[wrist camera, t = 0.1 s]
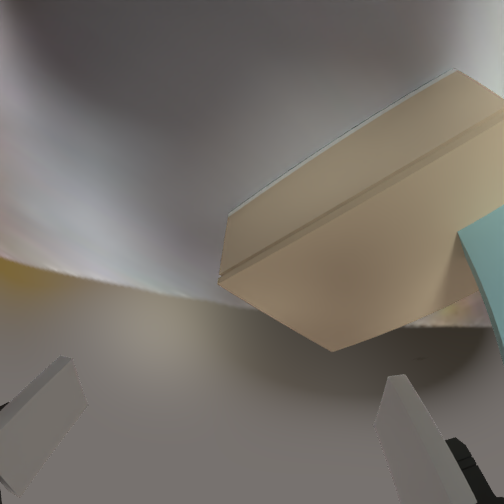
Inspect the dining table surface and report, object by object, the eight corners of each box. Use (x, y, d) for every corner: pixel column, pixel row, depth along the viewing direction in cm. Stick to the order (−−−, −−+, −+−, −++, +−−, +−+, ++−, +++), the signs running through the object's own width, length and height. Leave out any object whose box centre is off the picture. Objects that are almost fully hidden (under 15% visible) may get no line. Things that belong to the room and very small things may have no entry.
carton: (454, 68, 13) (509, 103, 9) (497, 203, 20) (527, 252, 16) (228, 213, 23) (219, 274, 19) (326, 292, 31) (331, 344, 27)
